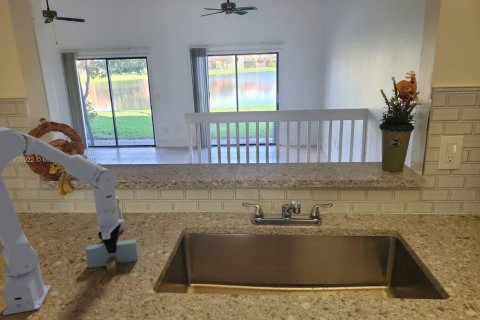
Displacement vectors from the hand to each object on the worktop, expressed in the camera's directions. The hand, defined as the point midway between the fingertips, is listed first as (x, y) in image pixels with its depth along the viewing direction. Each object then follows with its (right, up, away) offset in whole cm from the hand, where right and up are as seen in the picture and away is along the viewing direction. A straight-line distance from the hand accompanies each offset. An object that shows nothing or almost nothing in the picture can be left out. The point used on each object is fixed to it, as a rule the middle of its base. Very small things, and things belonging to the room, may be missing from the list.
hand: (113, 250), depth 101 cm
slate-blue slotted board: (0, -4, +1) cm, 4 cm away
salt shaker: (-6, +1, +21) cm, 22 cm away
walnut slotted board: (0, -4, +1) cm, 4 cm away
